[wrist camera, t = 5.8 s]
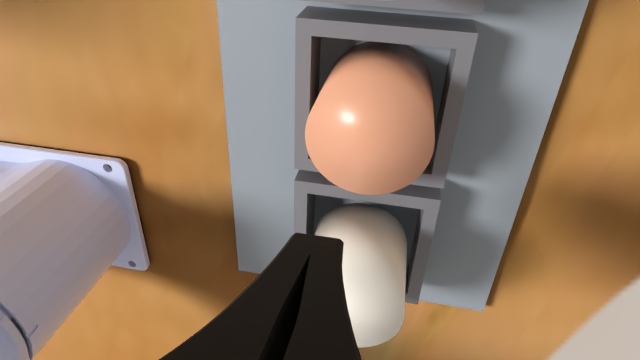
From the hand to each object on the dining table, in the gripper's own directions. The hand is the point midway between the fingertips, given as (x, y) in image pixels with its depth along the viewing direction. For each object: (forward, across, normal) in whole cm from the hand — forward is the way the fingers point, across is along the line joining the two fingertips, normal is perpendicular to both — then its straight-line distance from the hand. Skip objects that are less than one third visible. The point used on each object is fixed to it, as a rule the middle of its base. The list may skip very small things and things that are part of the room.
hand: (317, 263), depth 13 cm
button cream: (+8, -1, +6) cm, 10 cm away
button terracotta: (+9, -1, -2) cm, 9 cm away
